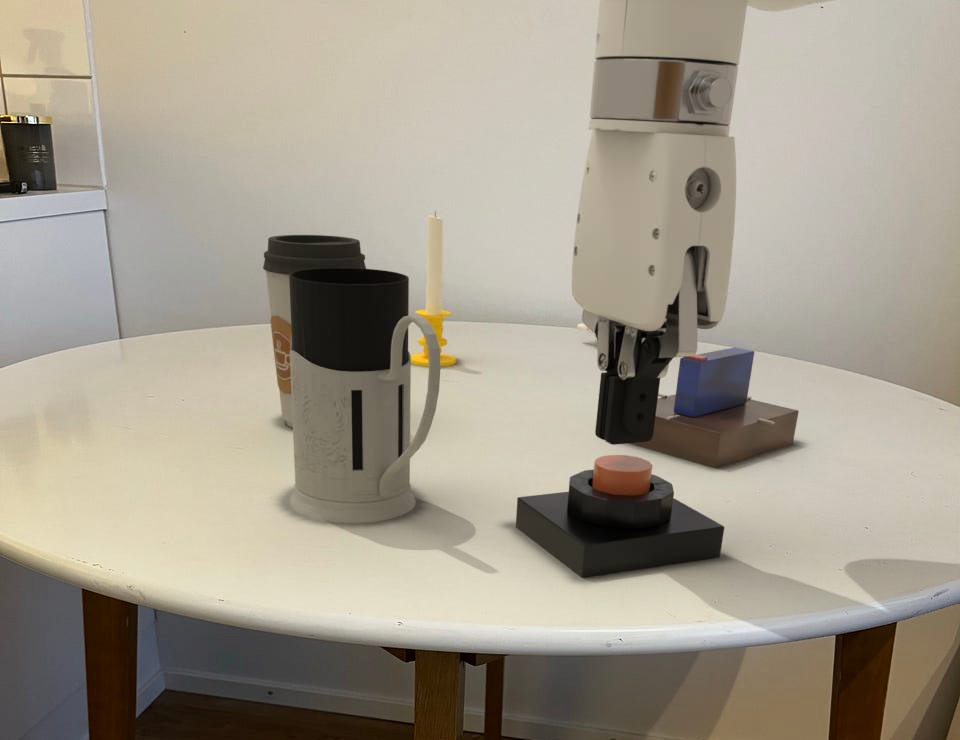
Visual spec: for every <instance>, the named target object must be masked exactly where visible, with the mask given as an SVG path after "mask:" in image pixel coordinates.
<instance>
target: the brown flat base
mask: <svg viewBox="0 0 960 740" xmlns="http://www.w3.org/2000/svg"><path fill="white" fill-rule="evenodd" d="M675 396H676V393H675V394H671V395H667V394H663V393H660V392H659V393H658V401H657V408H656V416H655V424H654V432H653V437H652V439H651V440H650V441H648V442H638V443H628V444H629V445H631V446H632V445H633V446H635V447H639V448H643V449H646V450H649V451H653V452H657V453H660V454H663V455H667V456H671V457H672V458H673V457H674V458H677V459H681V460H684V461H688V462H691V463H695V464H697V465H701V466H705V467H708V468H712V469H719V468H721V467H724V466H725V467H726V466H728V465H730V464H733V463H738V462H740V461H742V460H747V459H748V458H752V457H756V456H758V455H761V454H765V453H767V452H770V451H774V450H777V449H780V448H783V447H786V446H789V445H792V444H794V440H795V433H796V429H797V424H798V418H799V410H798V409H794V408H789V407H785V406H781V405H777V404H772V403H769V402H763V401H760V400H755V399H752V396H747V402H746V404H742V405H738V406H735V407H731V408H727V409H723V410H719V411H715V412H711V413H708V414H704V415H700V416H696V417H689V416H686V415H682V414H678V413H674V404H675Z"/></svg>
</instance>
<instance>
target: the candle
mask: <svg viewBox="0 0 960 740" xmlns="http://www.w3.org/2000/svg"><path fill="white" fill-rule="evenodd" d="M427 220H428V221H427V238H426V239H427V241H426V281H425V283H426V284H425V309H419V310H416V311H415V315H418V316H421V317H423V318H425V319H426V320H427V321H428V322H429V323H430V324H431V326H432V328H433V330H434V331H435V333H436V336H437V340H438V344H439V348H440V366H441V367H440V368H442V367H449V366H453V365H455V364H456V363H457V358H456V357H455V356H454V355H451V354H446V353H442V352H443V349H442V347H445V346H447V345H448V339H446V338H444V337H443V333H444V326H443V323H444V318H445V317H448V316H451V315H452V312H451V311H449V310H443V309H442V307H443V306H442V301H443V300H442V298H443V297H442V296H443V295H442V294H443V245H444V244H443V240H444V239H443V237H444V236H443V233H444V232H443V218H442V217H438V216H437V211H436V210H435V211H434V215H432V214H431V215H430V214H429V215H428V217H427ZM417 343H418V345H420V346H422V347H423V350H422V351H423V352H420V353H414V354H410V356H411V365H415V366H421V367H429V358H428V347H427V343H426V339H425V336H424V335H423V336H422V337H420V338H418V340H417Z"/></svg>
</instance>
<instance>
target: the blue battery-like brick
mask: <svg viewBox="0 0 960 740" xmlns="http://www.w3.org/2000/svg"><path fill="white" fill-rule="evenodd" d="M754 357H755V351H754V350H751V349H746V348H741V347H736V346H735V347H730V348H724V349H719V350H714V351H708V352H703V353H698V354H697V353H695V355H693V356H687V357H679V366H678V374H677V381H676V390H675V394H676V396H675V404H674V413H678V414H682V415H686V416H689V417H696V416H700V415H704V414H708V413H711V412H715V411H719V410H723V409H727V408H731V407H735V406H738V405H742V404H746V402H747V397H748V395H749V389H750V383H751V377H752V376H751V375H752V369H753V363H754Z"/></svg>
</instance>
